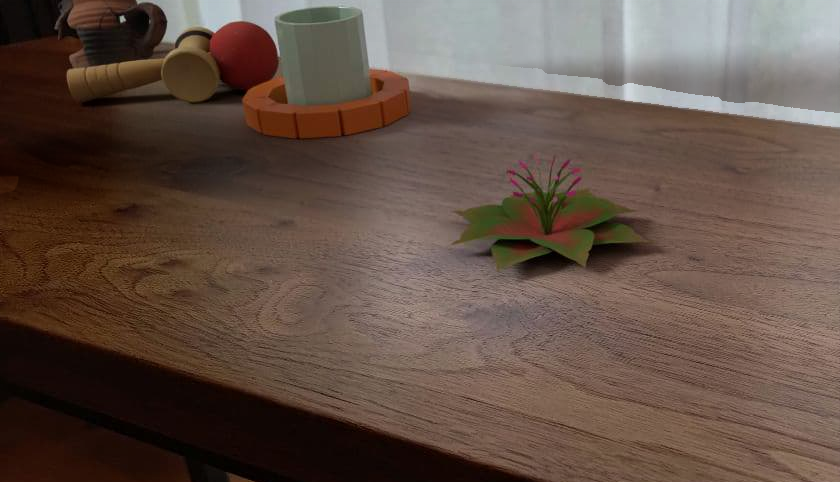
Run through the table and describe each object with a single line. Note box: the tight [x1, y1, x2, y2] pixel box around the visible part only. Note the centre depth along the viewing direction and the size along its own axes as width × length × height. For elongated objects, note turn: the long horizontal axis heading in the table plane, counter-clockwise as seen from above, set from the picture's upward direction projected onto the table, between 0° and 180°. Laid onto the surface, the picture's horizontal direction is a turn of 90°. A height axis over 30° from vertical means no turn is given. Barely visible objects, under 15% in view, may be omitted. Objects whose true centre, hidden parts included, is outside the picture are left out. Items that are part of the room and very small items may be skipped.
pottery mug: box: [53, 0, 168, 69], centre depth 100 cm, size 12×10×8 cm
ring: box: [241, 68, 412, 140], centre depth 82 cm, size 13×13×2 cm
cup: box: [274, 5, 372, 106], centre depth 80 cm, size 7×7×8 cm
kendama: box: [66, 20, 280, 104], centre depth 88 cm, size 8×6×18 cm
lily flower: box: [450, 154, 650, 272], centre depth 57 cm, size 12×12×5 cm
